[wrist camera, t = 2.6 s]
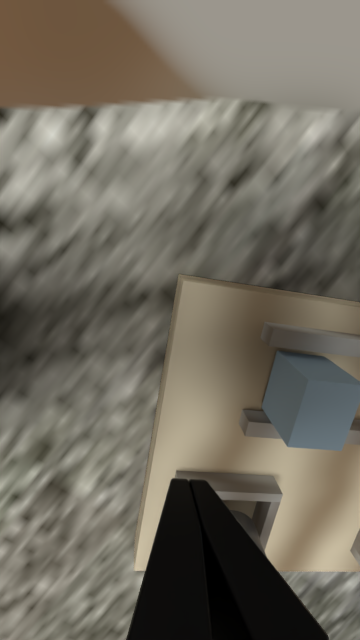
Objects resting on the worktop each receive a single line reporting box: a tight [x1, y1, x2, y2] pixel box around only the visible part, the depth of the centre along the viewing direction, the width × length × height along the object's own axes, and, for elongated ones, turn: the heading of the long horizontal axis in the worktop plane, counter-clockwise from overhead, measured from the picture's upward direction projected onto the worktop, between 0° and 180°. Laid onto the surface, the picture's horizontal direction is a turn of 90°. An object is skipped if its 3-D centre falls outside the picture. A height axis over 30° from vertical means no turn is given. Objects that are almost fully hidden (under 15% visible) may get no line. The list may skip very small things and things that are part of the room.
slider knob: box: [262, 351, 360, 451], centre depth 13 cm, size 2×3×3 cm
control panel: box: [134, 274, 360, 572], centre depth 17 cm, size 20×17×3 cm
